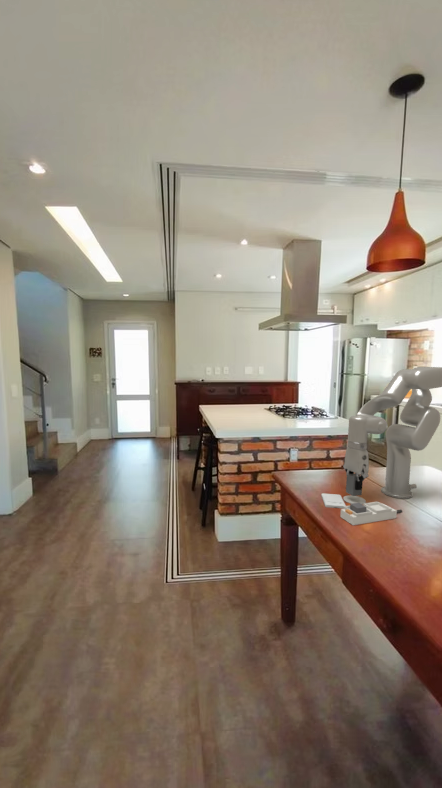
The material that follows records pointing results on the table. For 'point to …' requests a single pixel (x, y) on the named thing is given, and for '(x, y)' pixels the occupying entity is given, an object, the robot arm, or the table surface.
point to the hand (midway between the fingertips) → (354, 487)
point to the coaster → (354, 499)
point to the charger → (352, 485)
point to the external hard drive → (333, 500)
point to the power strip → (367, 513)
